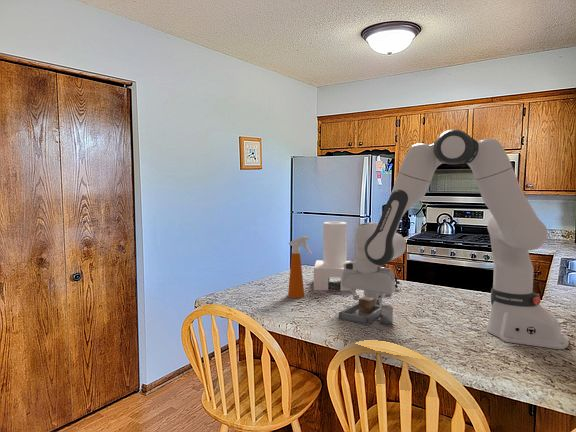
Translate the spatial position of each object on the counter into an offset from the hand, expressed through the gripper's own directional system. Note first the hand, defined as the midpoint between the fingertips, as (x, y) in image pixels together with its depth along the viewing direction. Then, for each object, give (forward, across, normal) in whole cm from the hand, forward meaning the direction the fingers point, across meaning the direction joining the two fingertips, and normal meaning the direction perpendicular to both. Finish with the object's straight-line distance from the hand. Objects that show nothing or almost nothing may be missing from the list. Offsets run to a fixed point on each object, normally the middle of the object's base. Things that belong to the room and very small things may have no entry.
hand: (367, 301), depth 148 cm
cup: (+4, +4, -13) cm, 14 cm away
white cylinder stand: (+4, +30, -28) cm, 41 cm away
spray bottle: (+4, +33, -3) cm, 33 cm away
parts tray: (+4, 0, +4) cm, 6 cm away
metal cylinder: (+4, -10, +7) cm, 13 cm away
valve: (+5, +4, -32) cm, 33 cm away
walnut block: (+4, 0, 0) cm, 4 cm away
